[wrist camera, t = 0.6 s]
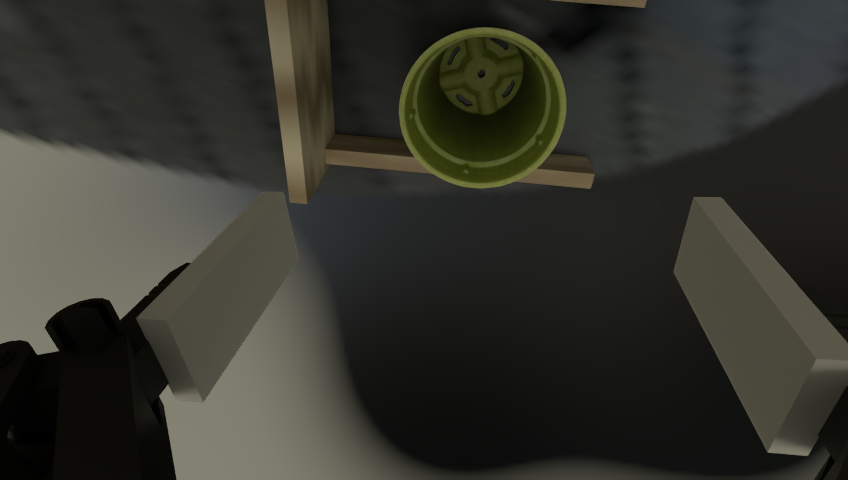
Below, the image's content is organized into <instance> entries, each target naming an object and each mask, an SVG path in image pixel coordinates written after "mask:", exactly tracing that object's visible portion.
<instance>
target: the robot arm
mask: <svg viewBox="0 0 848 480" xmlns="http://www.w3.org/2000/svg"><path fill="white" fill-rule="evenodd" d="M298 259H299V257H298V252H297V248H296V244H295V240H294V236H293V231H292V227H291V223H290V218H289V214H288V210H287V205H286V201H285V197H284V192H262V193H261V194H260V195H259V196H258V197H257V198H256V199H255V200H254V201H253V202H252V203H251V204H250V205H249V206H248V207H247V208H246V209H245V210H244V211H243V212H242V213H241V214H240V215H239V216H238V217H237V218H236V219H235V220H234V221H233V222H232V223H231V224H230V225H229V226H228V227H227V228H226V229H225V230H224V231H223V232H222V233H221V234H220V235H219V236H218V237H217V238H216V239H215V240H214V241H213V242H212V243H211V244H210V245H209V246H208V247H207V248H206V249H205V250H204V251H203V252H202V253H201V254H200V255H199V256H198V257H197V258H196V259H195V260H194V261H193V262H192V263H185V264H184V265H182V266H180V267H179V268H177V269H175V270H173V271H172V272H170V273H169V274H168V275H167V276H166V277H165V278H164V279H163V280H162V281H161V282H160V283H159V284H158V286H156V287H154V288H153V289H152V290H151V291H150V292H149V295H148V296H145V297H144V298H143V299H142V300H141V301H140V302H139V303H138V304H137V305H136V306H135V307H134V308H133V309H132V310H131V311H130V312H128V313H127V315H125V316H124V317H123V318H122V319H121V320H119V317H118V315H117V314H116V312H115V310H114V308H113V306H112V304H111V302H110V301H109V300H106V299H103V298H94V299H88V300H84V301H80V302H77V303H75V304H72V305H70V306H67V307H66V308H64V309H62V310H61V311H59V312H57V313H56V314H55V315H54V316H53V317H52V318H51V319H50V320H49V321H48V322H47V324H46V326H45V329H46V330H47V332H48V334H49V335H50V337H51V338H52V340H53V342H54V343H55V345H56V346H57V348H58V349H59V351H58V352H52V353H46V354H41V355H37V354H36V353H35V351H34V350H33V348H32V347H31V345H30V344H29V343H28V342H26V341H21V340H18V341H9V342H6V343H2V344H0V480H176V474H175V469H174V463H173V457H172V451H171V446H170V440H169V434H168V428H167V423H166V417H165V411H164V405H163V403H162V401H161V400H160V397H159V395H160V394H161V393H162V391H163V390H164V389H165V388H166V386H167V385H169V387H170V389H171V391H172V393H173V395H174V397H175V399H176V400H182V401H192V402H193V401H194V402H204V400H205V399H206V397H207V396H208V394H209V393H210V391H211V390H212V388H213V387H214V385H215V384H216V382H217V381H218V379H219V378H220V376H221V375H222V373H223V372H224V370H225V369H226V367H227V366H228V364H229V363H230V361H231V360H232V358H233V357H234V355H235V354H236V352H237V351H238V349H239V348H240V346H241V345H242V343H243V342H244V340H245V339H246V337H247V336H248V334H249V333H250V331H251V330H252V328H253V327H254V325H255V324H256V322H257V321H258V319H259V317H260V316H261V315H262V313H263V312H264V310H265V309H266V307H267V306H268V304H269V303H270V301H271V300H272V298H273V297H274V295H275V294H276V292H277V291H278V289H279V288H280V286H281V285H282V283H283V282H284V280H285V279H286V277H287V276H288V274H289V273H290V271H291V270H292V268H293V267H294V265H295V264H296V262H297V260H298ZM674 274H675V275H676V277H677V279H678V281H679V283H680V285H681V287H682V289H683V291H684V293H685V295H686V296H687V298H688V300H689V302H690V304H691V306H692V308H693V310H694V312H695V314H696V316H697V318H698V320H699V322H700V323H701V325H702V327H703V329H704V331H705V333H706V335H707V337H708V339H709V341H710V343H711V345H712V347H713V348H714V350H715V352H716V354H717V356H718V358H719V360H720V362H721V364H722V366H723V368H724V369H725V371H726V373H727V375H728V377H729V379H730V381H731V383H732V385H733V387H734V389H735V391H736V393H737V394H738V396H739V398H740V400H741V402H742V404H743V406H744V408H745V410H746V412H747V414H748V415H749V417H750V419H751V421H752V423H753V425H754V427H755V429H756V431H757V433H758V435H759V437H760V439H761V440H762V442H763V444H764V446H765V448H766V450H767V452H770V453H782V454H793V455H804V456H808V455H809V453H810V451H811V449H812V448H813V446H814V444H815V443H816V441H817V439H818V438H820V439H821V441H822V442H823V444H824V445H825V447H826V449H827V450H828V452H829V453H830V456H829V457H828V459H827V461H826V462H825V464H824V465H823V467H822V469H821V470H820V472H819V473H818V475H817V476H816V478H815V479H814V480H848V312H847V311H846V310H845V309H844V308H843V307H842V306H841V305H840V304H839V303H838V302H837V301H836V300H835V299H834V298H832V297H830V296H829V295H827V294H826V293H824V292H822V291H821V290H819V289H818V288H816V287H815V286H808V285H797V284H796V283H795V282H794V281H793V279H792V278H791V277H790V276H789V275H788V274H787V273H786V271H785V270H784V269H783V268H782V267H781V266H780V265H779V263H778V262H777V261H776V260H775V259H774V258H773V256H772V255H771V254H770V253H769V252H768V251H767V250H766V248H765V247H764V246H763V245H762V244H761V243H760V241H758V239H757V238H756V237H755V236H754V235H753V233H752V232H751V231H750V230H749V229H748V228H747V227H746V225H744V223H743V222H742V221H741V220H740V218H738V216H737V215H736V214H735V213H734V212H733V211H732V209H731V208H730V207H729V206H728V205H727V204H726V203H725V201H724V200H723V199H722V198H721V197H694V198H693V201H692V205H691V209H690V213H689V217H688V221H687V224H686V228H685V231H684V235H683V239H682V242H681V246H680V250H679V254H678V257H677V262H676V265H675V269H674Z"/></svg>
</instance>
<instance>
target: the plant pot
mask: <svg viewBox="0 0 848 480" xmlns="http://www.w3.org/2000/svg"><path fill="white" fill-rule="evenodd" d="M491 38H497V39H500V40H502V41H504V42H505V43H506V44H507V46H508V49H507V50H504V49H503V48H502V47H501V46H500V45H498V44H497V43H495V42H494V41H491ZM456 47H459V48H460V50H459V52H458V53H457V54H456V56H455V57H454V59H453V61H452V64H451V65H449V64H448V60H449V58H450V57H451V53H452V51H453V50H454V49H455V48H456ZM481 70H483V71H485V75H484V77H482V78H480V77H479V76H478V73H479V71H481ZM512 81H514V83H515V85H514V87H513V89H512V90H511V92H510V94H508V96H505V97H503V96H502V95H503V93H504V92H505V91H506V90H507V89H508V87H509V86H510V83H511V82H512ZM457 94H459V95H461V96H462V97H463V98H464V99H466V100H468V101H471V102H472V105H470V106H468V105H465V104H463V103H462V102H460V101H459V100H458V99H457V98H456V95H457ZM565 117H566V94H565V88H564V84H563V81H562V78H561V75H560V73H559V71H558V69H557V67H556V66H555V64H554V62H553V61H552V60H551V58H550V57H549V56H548V55H547V54H546V52H545V51H544V50H543V49H541V48H540V47H539V46H538V45H537V44H536V43H534V42H533V41H531V40H530V39H528V38H527V37H525V36H523V35H520V34H518V33H515V32H513V31H509V30H505V29H500V28H493V27H478V28H471V29H465V30H461V31H458V32H455V33H452V34H450V35H448V36H446V37H444V38H442V39H440V40H439V41H437V42H436V43H434V44H433V45H432V46H430V47H429V48H428V49H427V50H426V51H425V52H424V53H423V54H422V55H421V56H420V57H419V58H418V60H417V61H416V62H415V63H414V65H413V66H412V68H411V70H410V71H409V73H408V75H407V77H406V79H405V82H404V84H403V88H402V91H401V96H400V102H399V119H400V126H401V130H402V134H403V137H404V140H405V142H406V144H407V146H408V148H409V150H410V151H411V153H412V154H413V155H414V157H415V158H416V159H417V161H418V162H419V163H420V164H421V165H422V166H423V167H425V168H426V169H427V170H428V171H429V172H431V173H432V174H434V175H436V176H437V177H439V178H441V179H443V180H445V181H447V182H450V183H452V184H455V185H459V186H464V187H471V188H490V187H499V186H503V185H506V184H509V183H512V182H515V181H517V180H519V179H521V178H523V177H525V176H526V175H528V174H529V173H531V172H532V171H534V170H535V169H536V168H537V167H539V166H540V165H541V164H542V163H543V162H544V161H545V159H546V158H547V157H548V156H549V155H550V153H551V152H552V150H553V149H554V148H555V146H556V144H557V142H558V140H559V138H560V136H561V133H562V130H563V127H564V123H565Z"/></svg>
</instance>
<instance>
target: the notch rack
mask: <svg viewBox="0 0 848 480" xmlns="http://www.w3.org/2000/svg"><path fill="white" fill-rule="evenodd" d="M552 1H564V2H577V3H590V4H603V5H616V6H629V7H642V8H645V5H646V1H647V0H552ZM264 2H265V10H266V18H267V25H268V33H269V41H270V49H271V57H272V65H273V73H274V81H275V88H276V96H277V104H278V112H279V120H280V128H281V136H282V144H283V151H284V159H285V167H286V175H287V183H288V191H289V199H290V202H291V203H301V204H307V203H308V202H309V200H310V199H311V197H312V195H313V193H314V192H315V190H316V188H317V186H318V185H319V183H320V181H321V180H322V178H323V176H324V174H325V173H326V171H327V169H328V167H329V166H330V164H335V165H345V166H356V167H366V168H377V169H388V170H398V171H409V172H419V173H430V174H432V173H431V172H429V171H428V170H427V169H426V168H425V167H423V166H422V165H421V164H420V163H419V162H418V161H417V159H416V158H415V157H414V155H413V154H412V153H411V151H410V150H409V148H408V146H407V144H406V142H405V140H402V139H391V138H380V137H369V136H358V135H347V134H336V133H335V125H334V107H333V89H332V72H331V54H330V36H329V19H328V1H327V0H264ZM594 175H595V174H594V171H593V169H592V167H591V165H590V162H589V160H588V158H587V156H576V155H565V154H555V153H550V155H549V156H548V157H547V158H546V159H545V161H544V162H543V163H542V164H541V165H540V166H539V167H537V168H536V169H535V170H534V171H532V172H531V173H529V174H528V175H526V176H525V177H523V178H521V179H519V180H517V181H515V182H525V183H536V184H546V185H557V186H568V187H578V188H589V189H590V188H591V185H592V182H593V178H594Z"/></svg>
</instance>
